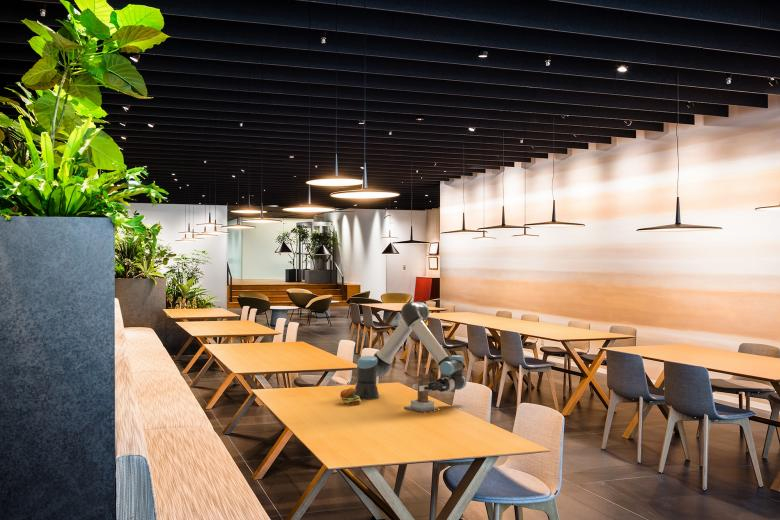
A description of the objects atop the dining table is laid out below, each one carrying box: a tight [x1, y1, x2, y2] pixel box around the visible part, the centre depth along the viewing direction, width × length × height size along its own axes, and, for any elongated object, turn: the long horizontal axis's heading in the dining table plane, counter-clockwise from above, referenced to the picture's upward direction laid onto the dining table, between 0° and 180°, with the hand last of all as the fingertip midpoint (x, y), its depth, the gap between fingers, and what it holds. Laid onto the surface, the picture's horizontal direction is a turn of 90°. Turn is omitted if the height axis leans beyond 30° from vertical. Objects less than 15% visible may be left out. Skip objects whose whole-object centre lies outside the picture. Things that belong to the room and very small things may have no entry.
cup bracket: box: [403, 399, 441, 414], centre depth 362 cm, size 14×14×4 cm
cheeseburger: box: [339, 387, 362, 406], centre depth 368 cm, size 10×11×10 cm
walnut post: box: [416, 373, 430, 403], centre depth 362 cm, size 4×4×16 cm
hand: (416, 387), depth 358 cm, fingers closed on walnut post, 4 cm apart
